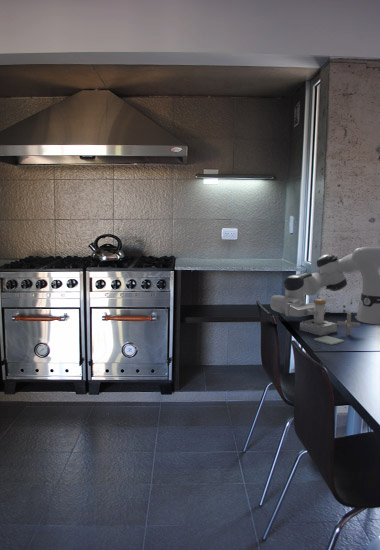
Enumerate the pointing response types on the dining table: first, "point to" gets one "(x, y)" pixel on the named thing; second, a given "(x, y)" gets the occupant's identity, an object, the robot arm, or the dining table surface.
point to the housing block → (318, 327)
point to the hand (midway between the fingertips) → (320, 312)
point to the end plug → (319, 311)
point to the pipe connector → (348, 324)
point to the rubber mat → (329, 340)
